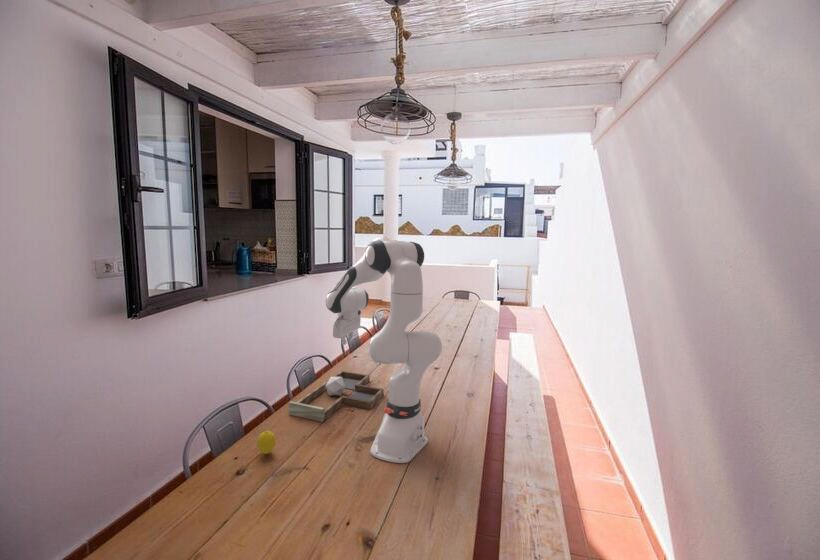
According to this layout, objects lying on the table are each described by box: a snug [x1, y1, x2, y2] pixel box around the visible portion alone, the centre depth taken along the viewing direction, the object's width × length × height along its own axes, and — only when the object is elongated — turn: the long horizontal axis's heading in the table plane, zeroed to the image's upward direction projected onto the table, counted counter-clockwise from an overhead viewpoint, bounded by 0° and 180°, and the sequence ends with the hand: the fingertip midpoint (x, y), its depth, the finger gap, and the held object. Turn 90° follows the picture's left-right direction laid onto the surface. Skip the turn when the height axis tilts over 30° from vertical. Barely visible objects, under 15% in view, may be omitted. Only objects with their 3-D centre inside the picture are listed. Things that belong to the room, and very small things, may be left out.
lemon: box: [256, 430, 277, 455], centre depth 124 cm, size 6×6×8 cm
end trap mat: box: [343, 378, 360, 391], centre depth 181 cm, size 10×12×1 cm
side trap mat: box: [348, 390, 374, 401], centre depth 166 cm, size 11×12×1 cm
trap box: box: [288, 370, 385, 423], centre depth 166 cm, size 42×28×5 cm, turn 161°
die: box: [326, 376, 346, 397], centre depth 169 cm, size 8×9×10 cm
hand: (346, 342), depth 176 cm, fingers open, 4 cm apart
